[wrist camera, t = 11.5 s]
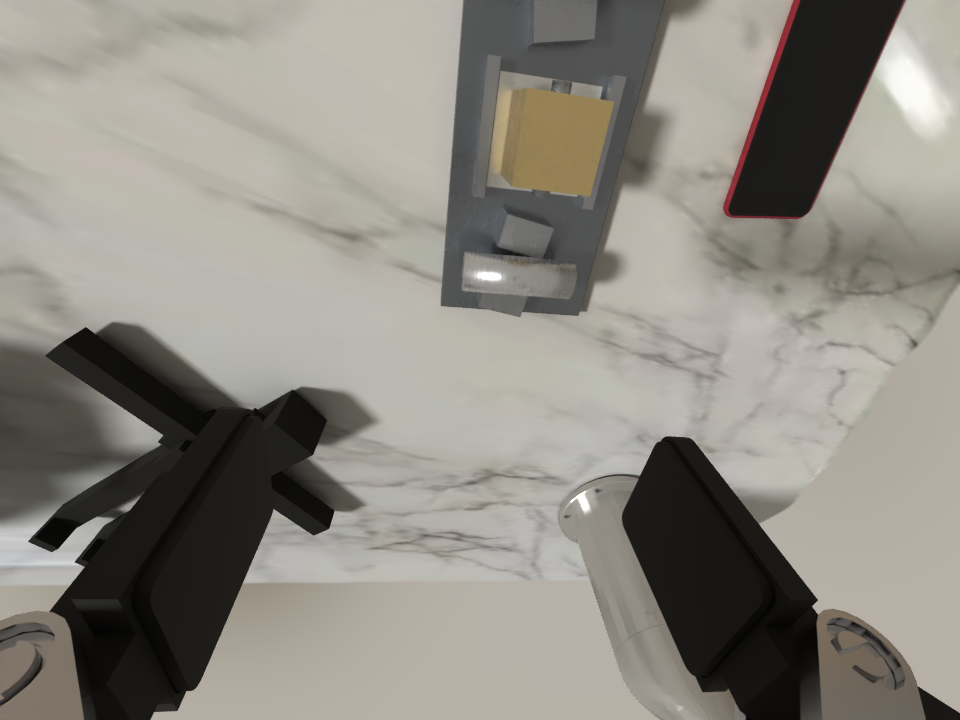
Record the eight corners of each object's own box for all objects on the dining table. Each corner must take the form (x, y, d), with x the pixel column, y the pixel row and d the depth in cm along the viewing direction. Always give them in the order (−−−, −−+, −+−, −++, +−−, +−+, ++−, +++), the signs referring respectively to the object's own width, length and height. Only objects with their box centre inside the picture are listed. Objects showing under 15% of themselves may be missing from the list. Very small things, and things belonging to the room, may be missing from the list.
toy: (-116, 478, 34) (105, 304, 26) (-47, 430, 38) (159, 271, 30) (180, 608, 48) (383, 523, 40) (205, 562, 52) (391, 477, 44)
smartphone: (919, -29, 25) (807, 219, 33) (905, -25, 26) (798, 216, 34) (811, -39, 24) (723, 217, 32) (800, -35, 25) (716, 215, 33)
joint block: (589, 89, 26) (618, 86, 22) (565, 193, 30) (587, 208, 25) (514, 77, 26) (529, 71, 21) (498, 185, 29) (509, 198, 25)
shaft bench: (687, -111, 23) (750, -166, 18) (575, 310, 36) (595, 340, 32) (475, -162, 21) (486, -236, 16) (440, 301, 34) (441, 330, 30)
